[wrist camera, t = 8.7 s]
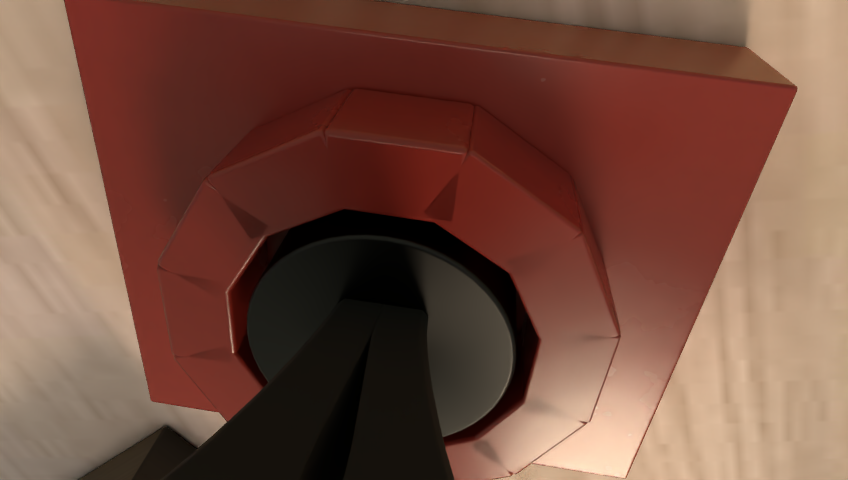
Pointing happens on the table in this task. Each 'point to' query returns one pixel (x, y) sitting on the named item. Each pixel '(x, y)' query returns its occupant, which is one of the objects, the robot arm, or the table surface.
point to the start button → (394, 302)
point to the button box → (429, 187)
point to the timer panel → (146, 459)
